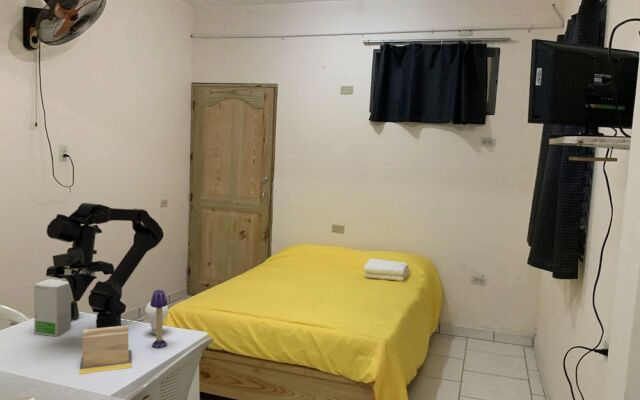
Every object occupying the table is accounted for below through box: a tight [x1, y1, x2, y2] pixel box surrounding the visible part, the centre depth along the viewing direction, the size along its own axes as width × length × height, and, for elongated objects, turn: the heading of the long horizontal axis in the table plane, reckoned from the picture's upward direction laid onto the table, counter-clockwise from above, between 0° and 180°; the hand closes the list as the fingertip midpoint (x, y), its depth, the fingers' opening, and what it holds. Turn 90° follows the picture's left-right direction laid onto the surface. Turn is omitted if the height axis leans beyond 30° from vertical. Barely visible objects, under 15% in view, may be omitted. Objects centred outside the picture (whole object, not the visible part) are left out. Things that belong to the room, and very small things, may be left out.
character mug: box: [58, 278, 80, 321], centre depth 164 cm, size 11×7×13 cm, turn 142°
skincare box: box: [33, 278, 72, 338], centre depth 154 cm, size 8×7×16 cm
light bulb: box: [144, 301, 169, 336], centre depth 153 cm, size 7×7×11 cm
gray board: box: [78, 349, 133, 375], centre depth 134 cm, size 12×13×1 cm
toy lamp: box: [150, 289, 168, 350], centre depth 144 cm, size 5×5×17 cm
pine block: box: [81, 324, 130, 368], centre depth 135 cm, size 6×11×8 cm, turn 111°
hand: (76, 301), depth 139 cm, fingers closed
